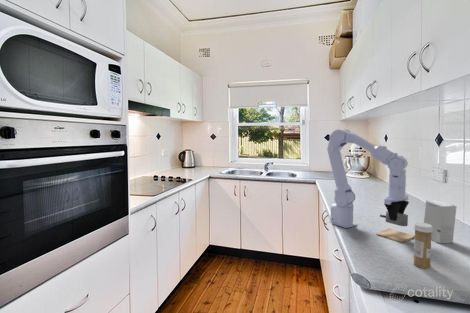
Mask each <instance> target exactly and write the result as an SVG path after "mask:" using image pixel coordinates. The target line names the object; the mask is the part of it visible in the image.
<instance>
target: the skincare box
mask: <svg viewBox="0 0 470 313" xmlns="http://www.w3.org/2000/svg"><path fill="white" fill-rule="evenodd" d="M456 215H457V206H456V205H454V204H451V203H448V202H445V201H441V200H435V199H433V200H426V201H425V209H424V217H423V218H424V219H423V223H427V224H430V225H432V233H431V241H433V242H436V243H437V244H453V243H454V234H455V233H454V232H455V224H456V223H455V222H456Z"/></svg>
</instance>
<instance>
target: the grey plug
mask: <svg viewBox="0 0 470 313" xmlns="http://www.w3.org/2000/svg"><path fill="white" fill-rule="evenodd" d="M379 218H383V219H385V222H386V223H389V224H392V225H396V226H400V227H408V225H409V215H408V214H406V213H404V214H402V213H398V214H397V219H396V221H393V220H390V218H389V214H388V210H386V211H385V214H380V215H379Z"/></svg>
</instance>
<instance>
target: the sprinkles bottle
mask: <svg viewBox="0 0 470 313" xmlns="http://www.w3.org/2000/svg"><path fill="white" fill-rule="evenodd" d="M431 233H432V225H430V224H427V223H424V222H420V221H419V222H415V223H414V236H415V237H414V238H413V240H414V242H413V243H414V245H413V265H415V266H416V267H418V268H420V269H425V270H426V269H430V268H431V266H432V265H431V257H432V240H431Z"/></svg>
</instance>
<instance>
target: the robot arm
mask: <svg viewBox="0 0 470 313" xmlns="http://www.w3.org/2000/svg"><path fill="white" fill-rule="evenodd" d="M328 138H329V142H328V145H327V154H328V158H329V162H330V166H331V171H332V176H333V178H334V182H335V188H334V203H333V204H332V205H331V207H330V221H329V223H330V224H332V225H336V226H338V227H342V228H345V229H348V228H352V227H355V226H358V224H357V223H356V222H354V202H355V201H356V194H355V193H354V191H353V190H352V186H350V184H349V182H348V177H347V174H346V170H345V166H344V162H343V158H342V154H341V150H342V149H343V148H344V146H345V145H347V144H355V145H356V146H359V147H360V148H362V149H364V150H365V151H368V152H369V153H370V154H371V155H370V156H371V157H372V158H373V159H376V160H377V161H378V162H379V163H382V164H383V165H385V166H387V168H388V169H389V174H388V196H387V197H386V198H384V201H383V204H384V206H385V208H386V211H388V214H389V218H390V220H393V221H396V219H397V214H398V213H402V214H405V213H404V212H405V211H406V209H407V207H408V205H409V204H410V201H408V200H409V194H406V183H407V182H406V181H407V179H406V178H407V175H406V173H407V171H406V168H407V167H408V159H406V158H405V156H403V155H399V154H398V153H397V152H393V151H391V150H390V149H388V147H387V146H386V145H383V146H382V145H377V146H376V145H374V144H373V143H372V142H370V141H368V140H367V139H365V138H363V137H362V136H361V135H360V134H357V133H355V132H353V131H351V130H349V129H334V130H333V131H332V133H330V135H329V136H328Z"/></svg>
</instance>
